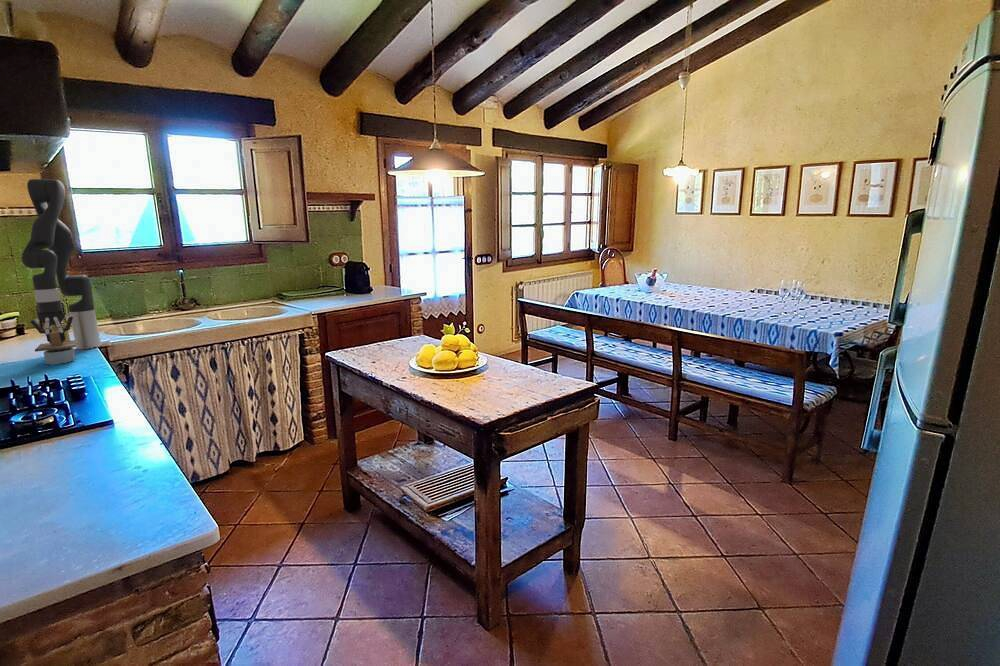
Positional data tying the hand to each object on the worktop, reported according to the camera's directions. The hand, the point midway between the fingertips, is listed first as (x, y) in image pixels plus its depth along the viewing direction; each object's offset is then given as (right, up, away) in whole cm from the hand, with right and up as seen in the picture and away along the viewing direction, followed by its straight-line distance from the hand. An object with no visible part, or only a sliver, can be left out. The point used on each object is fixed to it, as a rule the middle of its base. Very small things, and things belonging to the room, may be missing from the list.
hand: (56, 341), depth 212 cm
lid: (0, -2, 0) cm, 2 cm away
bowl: (0, -8, +2) cm, 8 cm away
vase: (-6, -6, +12) cm, 15 cm away
